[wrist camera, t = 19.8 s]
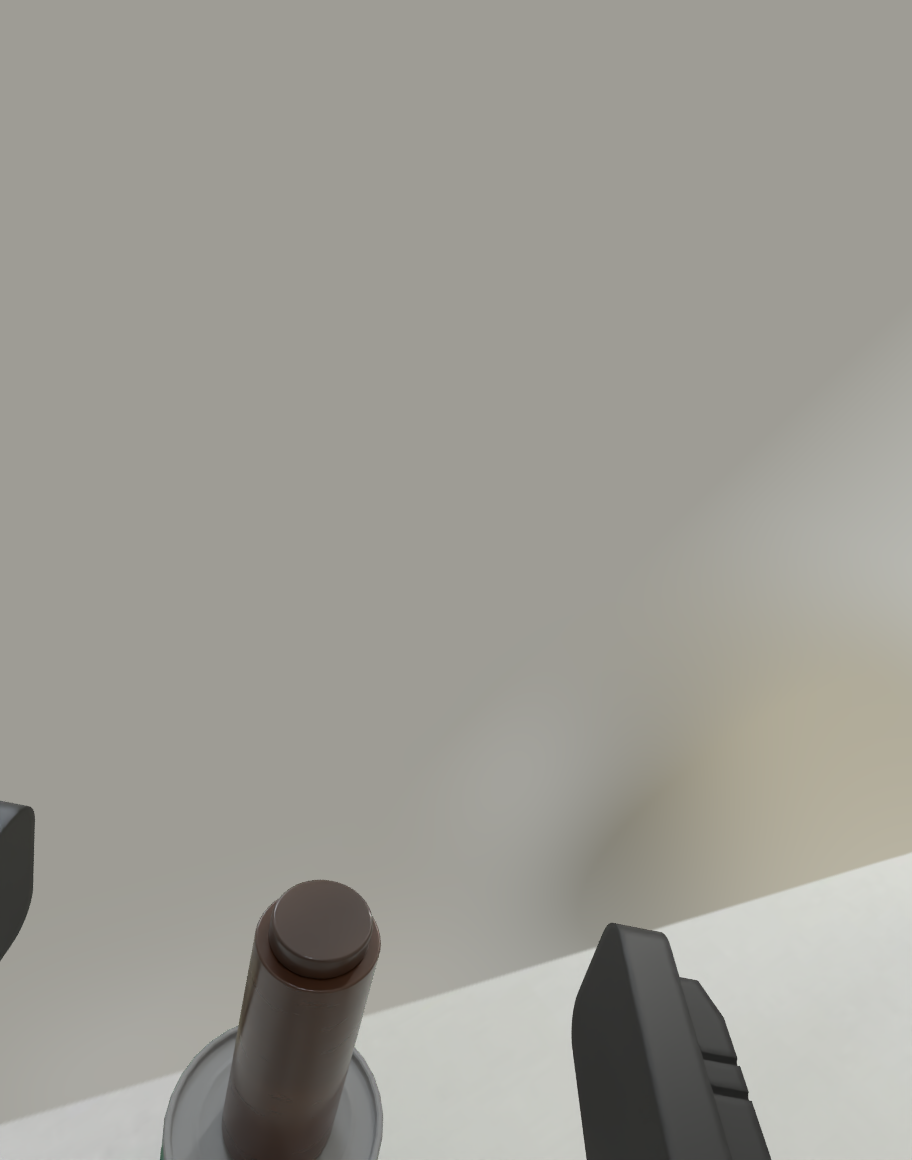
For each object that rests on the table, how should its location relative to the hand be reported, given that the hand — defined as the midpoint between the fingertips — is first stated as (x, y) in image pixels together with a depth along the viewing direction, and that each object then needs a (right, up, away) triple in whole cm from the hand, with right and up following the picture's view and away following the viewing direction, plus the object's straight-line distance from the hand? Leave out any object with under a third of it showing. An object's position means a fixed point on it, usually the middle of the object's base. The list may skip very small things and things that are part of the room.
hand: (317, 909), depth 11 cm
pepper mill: (-5, -15, +17) cm, 23 cm away
